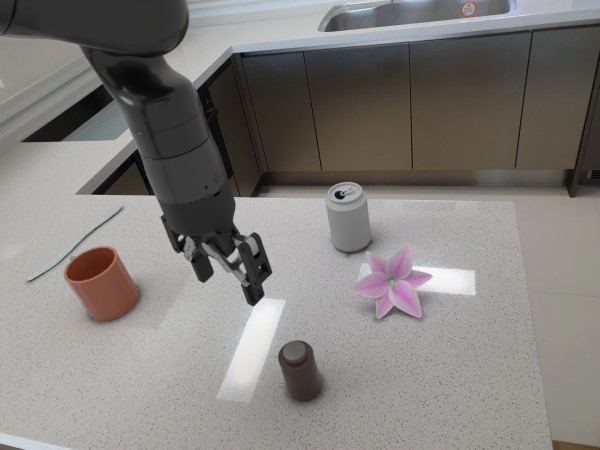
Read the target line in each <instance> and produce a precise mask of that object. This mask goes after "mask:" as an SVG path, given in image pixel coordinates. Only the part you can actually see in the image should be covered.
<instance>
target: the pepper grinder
mask: <svg viewBox="0 0 600 450" xmlns="http://www.w3.org/2000/svg"><path fill="white" fill-rule="evenodd" d="M277 361H278V365H279V367H280V370H281V373H282V376H283V379H284V381H285V385H286V387H287V390H288V394H289V395H290V397H291V398H292V399H294V400H295V401H297V402H300V403H304V402H310V401H312V400H314V399H315V398H316V397H318V395H319V394H320V392H321V390H322V380H321V376H320V372H319V369H318V365H317V361H316V357H315V353H314V349H313V347H312V345H310V343H308V342H307V341H305V340H301V339H300V340H299V339H298V340H297V339H296V340H291V341H289V342H287V343H285V344H283V346H281V348H280V350H279V351H278V355H277Z"/></svg>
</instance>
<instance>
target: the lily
mask: <svg viewBox="0 0 600 450" xmlns="http://www.w3.org/2000/svg"><path fill="white" fill-rule="evenodd" d="M365 256H366V259H367V263H368V267H369V269H370V271H371V273H369V274H367V275H366V276H364V277H362V278H361V279H359V280H357V281H356V282H354V283H353V284H352V285H350V286H349V288H348V291H349V292H350V293H352V294H353V295H354V294H355V295H358V296H361V297H365V298H370V299H375V316H376V319H377V320H380V319H381V318H383V317H384V316H385V315H386V314H387V313H389V312H390V310H392V308H393V307H394V306H395V307H396V308H398V310H401V311H403V312H404V313H406V314H408V315H410V316H412V317H415V318H419V319H420V318H422V317H423V309H422V305H421V302H420V298H419V296H418V293H417V291H416V289H417V288H419V287H422V286H424V285H425V284H426V283H427V282H429V281H431V280H432V279H433V277H434V276H433V274H431V273H428V272H424V271H421V270H415V269H413V259H414V258H413V246H412V243H411V242H410V241H406V242H405V243H403V244H402V245H401V246H400V247H398V249H397V250H396V251H395V252H394V253H393V254H392V255H391V256H390V257H388V259H385V258H384V257H382V256H380V255H379V254H376V253H374V252H373V251H370V250H366V252H365Z"/></svg>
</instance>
